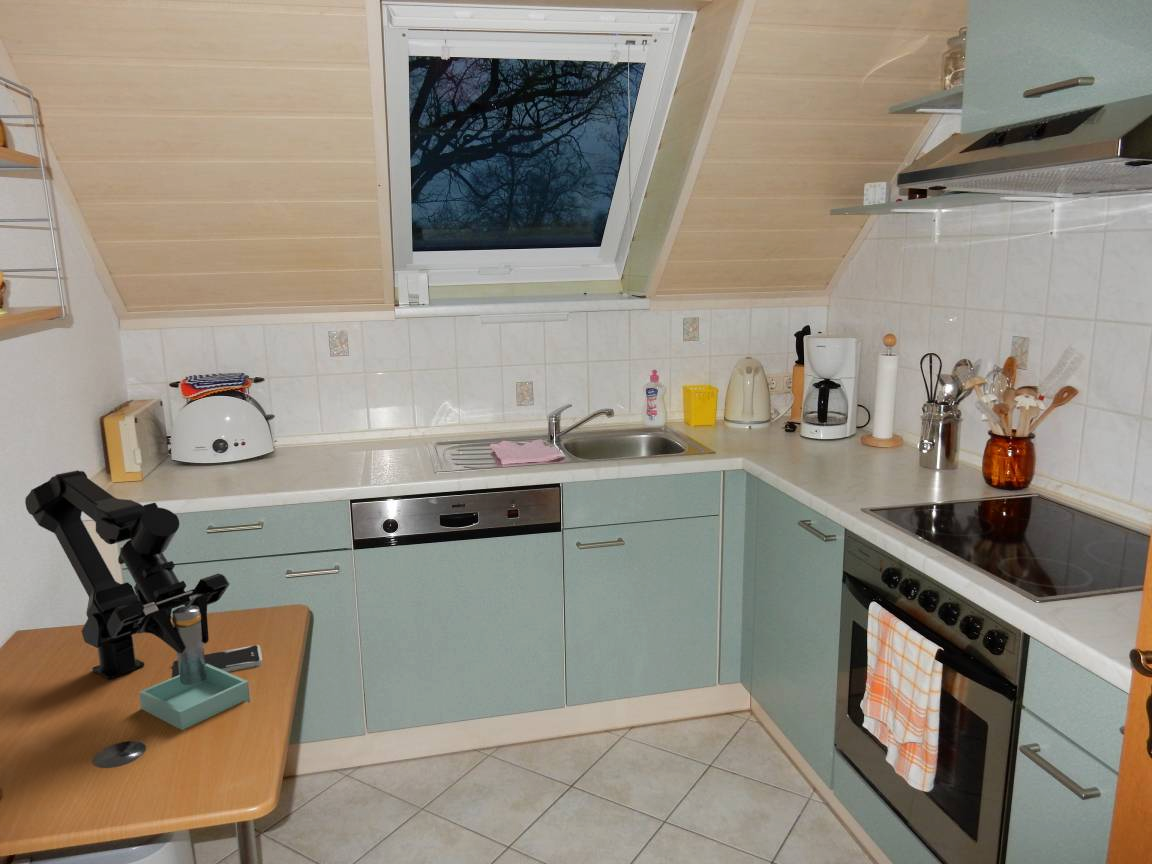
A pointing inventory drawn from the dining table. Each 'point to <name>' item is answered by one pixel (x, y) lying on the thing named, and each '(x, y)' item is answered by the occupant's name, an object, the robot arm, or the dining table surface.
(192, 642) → the strut
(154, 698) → the bin
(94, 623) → the robot arm
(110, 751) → the dark metal disc
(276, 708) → the dining table surface
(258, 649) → the smartphone
